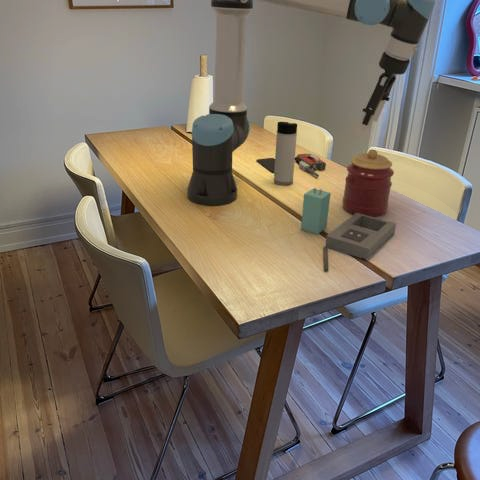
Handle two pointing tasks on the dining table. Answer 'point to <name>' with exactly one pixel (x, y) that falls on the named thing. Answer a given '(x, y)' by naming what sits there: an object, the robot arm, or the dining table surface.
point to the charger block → (315, 210)
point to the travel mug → (285, 153)
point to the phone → (267, 163)
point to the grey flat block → (360, 235)
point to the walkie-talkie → (310, 163)
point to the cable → (325, 258)
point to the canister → (368, 184)
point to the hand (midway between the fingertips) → (366, 126)
